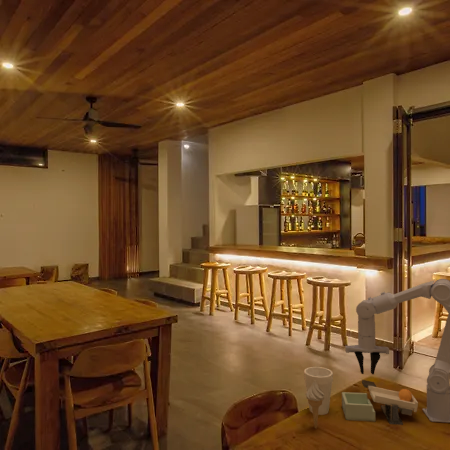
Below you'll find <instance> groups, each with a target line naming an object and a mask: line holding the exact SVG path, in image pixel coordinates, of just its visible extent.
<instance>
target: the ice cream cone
mask: <svg viewBox="0 0 450 450" xmlns="http://www.w3.org/2000/svg"><path fill="white" fill-rule="evenodd" d="M305 396H306V399H307V403H308V402H309V403H308V405H309V404H310V405H311V406H312V411H313V413H312V416H313V417H312V419H313V426H314V429H315V430H316V429H318V420H319V419H318V418H319V415H318V409H319V406H320V405H322V401H323V399H324V397H323V396H324V394H323V392H322V391H321V389H320V388H319V386H318V385H317V383H316V381H314V383H313V384H312V386H311V387H310V388H309V390H308V391H307V390H306V393H305Z"/></svg>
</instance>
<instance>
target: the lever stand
mask: <svg viewBox="0 0 450 450" xmlns="http://www.w3.org/2000/svg"><path fill="white" fill-rule="evenodd" d="M380 408H381V410H382V412H383V414H384V416H385V418H386V420H387V421H388V424H389V425H401V426H402V425H404V422H403V420H402V418H401V417H400V415H399V408H398V405H392V406H391V405H387V404H382V405H380Z"/></svg>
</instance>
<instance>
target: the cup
mask: <svg viewBox="0 0 450 450" xmlns="http://www.w3.org/2000/svg"><path fill="white" fill-rule="evenodd" d="M341 408H342V411H343V415H344V417H345V420H346V421H362V422H376V411H375V409H374V406H373V404H372V402H371V400H370V399H369V398H368V393H366V392H365V393H364V392H351V391H350V392H348V391H347V392H345V391H343V392H341Z"/></svg>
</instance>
